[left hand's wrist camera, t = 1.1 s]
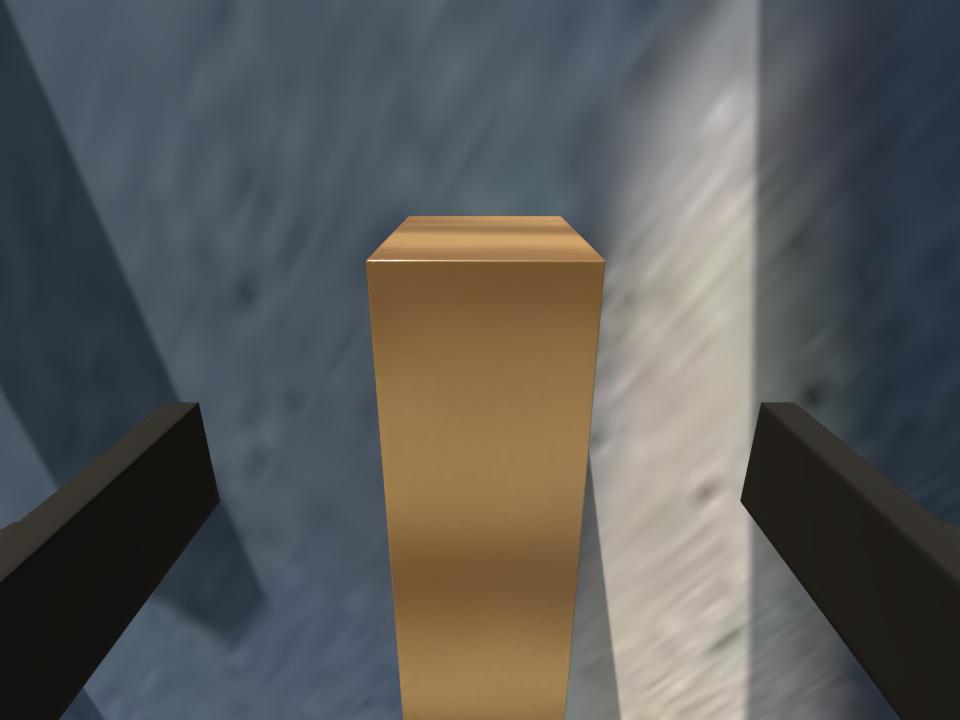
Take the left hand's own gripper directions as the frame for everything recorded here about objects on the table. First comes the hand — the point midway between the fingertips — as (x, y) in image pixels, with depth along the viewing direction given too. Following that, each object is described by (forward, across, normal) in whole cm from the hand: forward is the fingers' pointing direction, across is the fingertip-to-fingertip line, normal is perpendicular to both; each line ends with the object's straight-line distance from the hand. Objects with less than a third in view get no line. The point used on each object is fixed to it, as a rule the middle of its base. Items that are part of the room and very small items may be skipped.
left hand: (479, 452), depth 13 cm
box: (+11, 0, -7) cm, 13 cm away
